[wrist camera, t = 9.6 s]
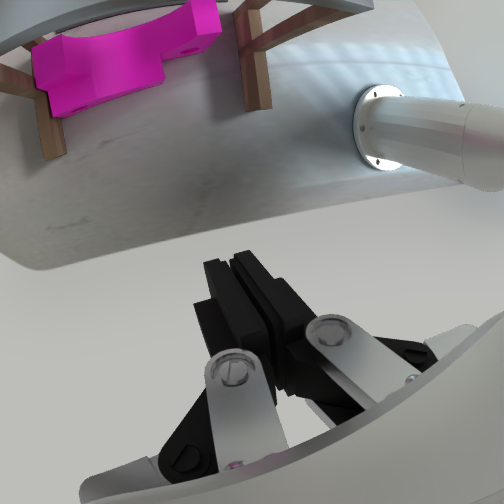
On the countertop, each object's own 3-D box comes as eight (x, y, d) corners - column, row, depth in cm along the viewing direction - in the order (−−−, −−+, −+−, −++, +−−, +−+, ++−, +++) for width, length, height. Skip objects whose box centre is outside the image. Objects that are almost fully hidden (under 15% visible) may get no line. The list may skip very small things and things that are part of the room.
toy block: (65, 118, 21) (42, 116, 15) (55, 64, 18) (31, 48, 12) (206, 74, 25) (228, 58, 19) (196, 23, 22) (214, -5, 16)
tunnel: (243, 12, 23) (353, -66, 7) (256, 110, 28) (387, 108, 13) (43, 51, 17) (-46, -13, 1) (56, 157, 22) (-44, 206, 7)
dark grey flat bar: (224, -16, 20) (225, -17, 20) (227, 1, 21) (227, 0, 21) (57, 15, 15) (57, 14, 15) (57, 33, 17) (56, 32, 16)
